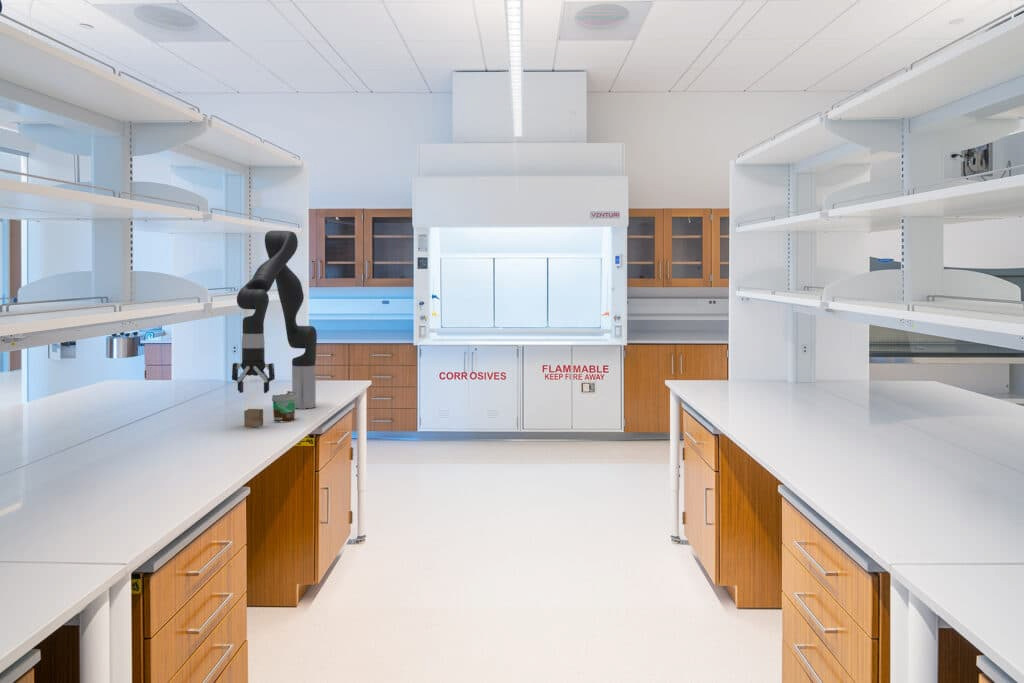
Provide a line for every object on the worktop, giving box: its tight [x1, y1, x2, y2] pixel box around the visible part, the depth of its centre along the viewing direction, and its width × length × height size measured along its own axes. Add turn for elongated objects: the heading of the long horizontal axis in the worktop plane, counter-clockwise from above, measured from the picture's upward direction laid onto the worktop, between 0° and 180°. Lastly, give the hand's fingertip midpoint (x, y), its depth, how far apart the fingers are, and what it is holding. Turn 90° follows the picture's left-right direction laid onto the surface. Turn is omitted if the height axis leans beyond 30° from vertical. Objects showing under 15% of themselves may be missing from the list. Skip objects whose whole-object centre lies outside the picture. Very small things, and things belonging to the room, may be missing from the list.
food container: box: [271, 390, 297, 422], centre depth 290 cm, size 12×6×10 cm, turn 168°
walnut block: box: [243, 408, 264, 428], centre depth 276 cm, size 5×5×6 cm
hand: (253, 392), depth 276 cm, fingers open, 8 cm apart
